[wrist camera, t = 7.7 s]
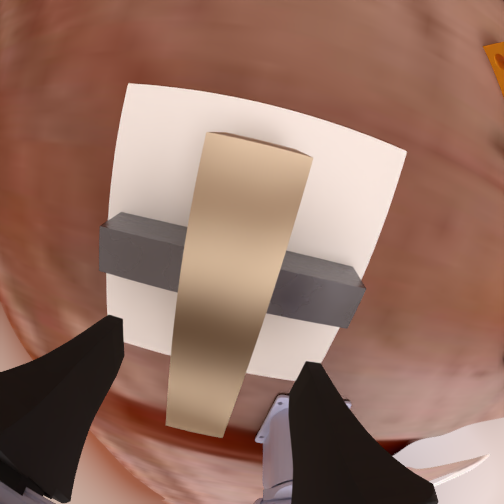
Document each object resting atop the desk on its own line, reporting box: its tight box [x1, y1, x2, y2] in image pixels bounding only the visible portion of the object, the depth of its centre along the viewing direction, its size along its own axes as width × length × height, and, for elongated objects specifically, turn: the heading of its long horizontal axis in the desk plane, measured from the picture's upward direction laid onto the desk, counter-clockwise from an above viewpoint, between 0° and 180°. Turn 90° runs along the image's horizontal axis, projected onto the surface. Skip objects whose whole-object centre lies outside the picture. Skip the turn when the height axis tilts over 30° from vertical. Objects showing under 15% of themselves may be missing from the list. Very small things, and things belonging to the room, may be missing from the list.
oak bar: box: [166, 132, 313, 438], centre depth 14 cm, size 16×4×5 cm, turn 166°
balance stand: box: [99, 83, 407, 381], centre depth 18 cm, size 20×18×4 cm
